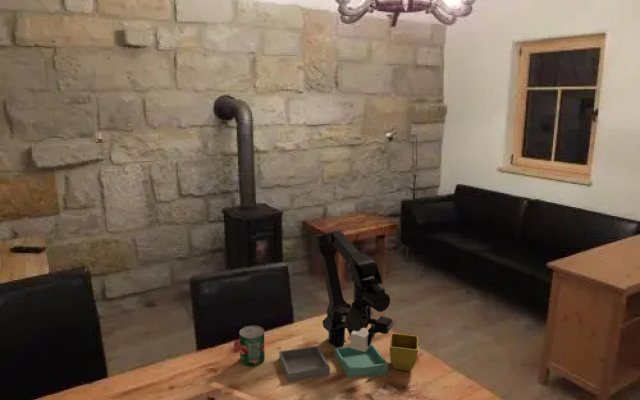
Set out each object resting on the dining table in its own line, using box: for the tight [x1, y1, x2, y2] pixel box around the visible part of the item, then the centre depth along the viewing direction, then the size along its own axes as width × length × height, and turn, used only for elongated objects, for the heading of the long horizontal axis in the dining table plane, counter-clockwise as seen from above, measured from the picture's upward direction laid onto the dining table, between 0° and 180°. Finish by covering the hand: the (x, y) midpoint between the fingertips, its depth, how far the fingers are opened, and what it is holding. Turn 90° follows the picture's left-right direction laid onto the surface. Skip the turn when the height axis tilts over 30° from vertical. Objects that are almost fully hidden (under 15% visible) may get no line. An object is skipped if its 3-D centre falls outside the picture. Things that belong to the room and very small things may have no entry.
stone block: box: [349, 328, 371, 352], centre depth 149 cm, size 5×5×5 cm
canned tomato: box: [239, 325, 266, 368], centre depth 151 cm, size 8×8×11 cm
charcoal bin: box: [278, 345, 331, 382], centre depth 148 cm, size 13×13×4 cm
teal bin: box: [334, 342, 389, 378], centre depth 150 cm, size 13×13×4 cm
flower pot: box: [389, 332, 419, 372], centre depth 150 cm, size 9×9×9 cm
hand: (360, 343), depth 149 cm, fingers closed on stone block, 5 cm apart
